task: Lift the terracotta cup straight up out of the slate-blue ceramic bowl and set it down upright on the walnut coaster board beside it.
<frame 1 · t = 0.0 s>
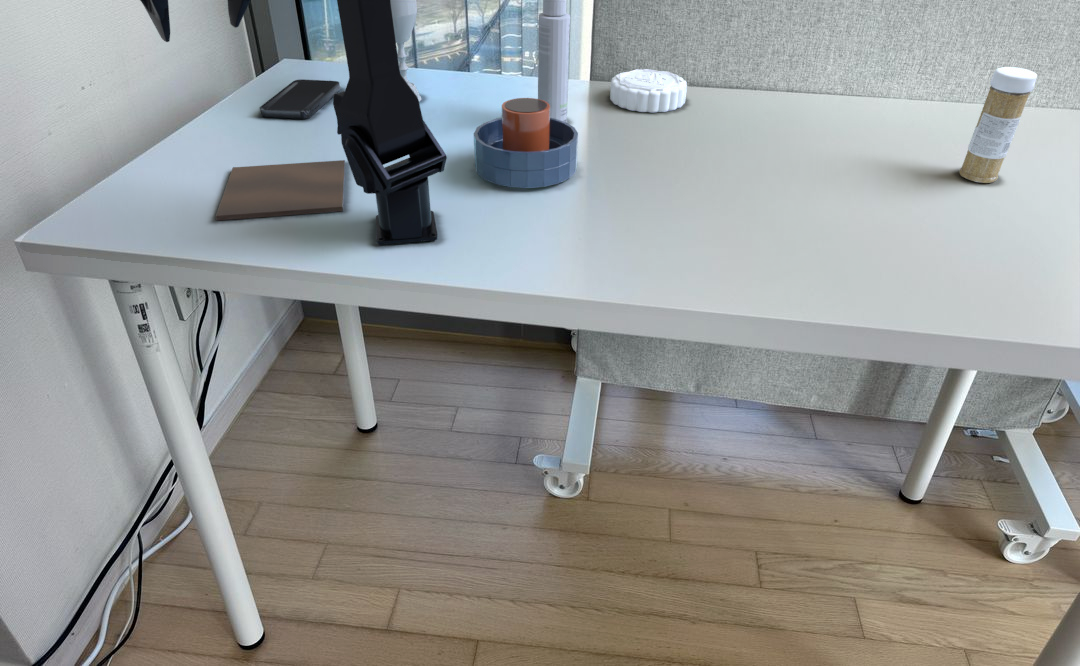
hand: (201, 33, 92), 15 cm above the table, tool pointing down, fingers open, 9 cm apart
mooncake: (647, 101, 120), on the table
bowl: (526, 170, 97), on the table
bottle: (552, 123, 112), on the table
sprinkles bottle: (976, 178, 97), on the table
chalice: (405, 100, 120), on the table
cup: (525, 136, 95), in the bowl
coaster board: (285, 190, 92), on the table
phone: (302, 102, 118), on the table
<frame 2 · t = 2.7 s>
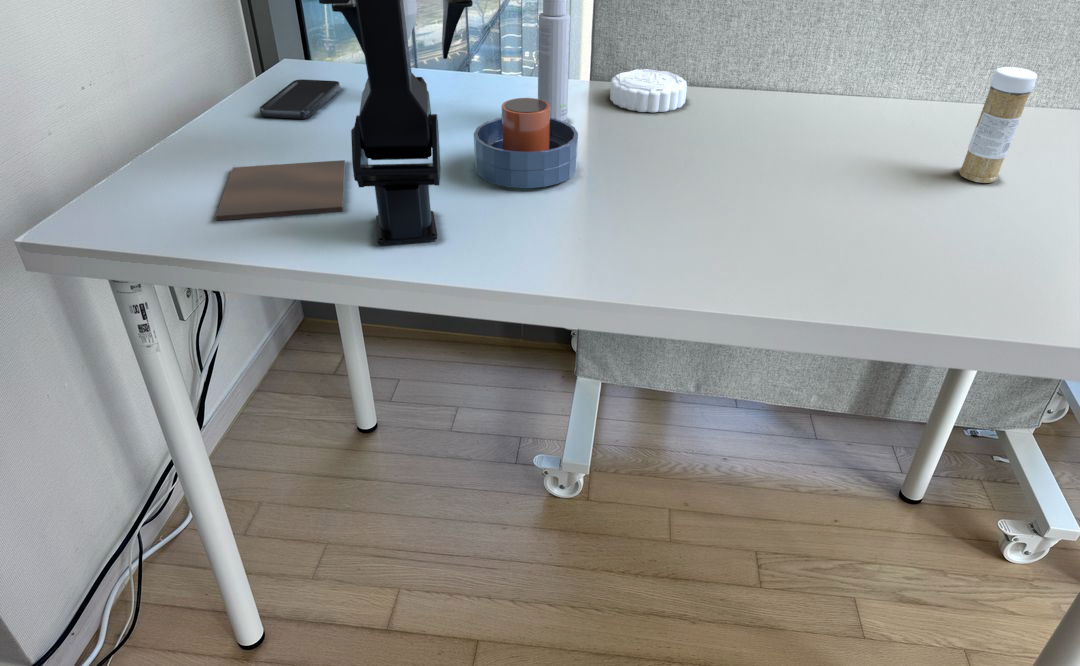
hand: (407, 60, 92), 13 cm above the table, tool pointing down, fingers open, 9 cm apart
nothing on the table moved.
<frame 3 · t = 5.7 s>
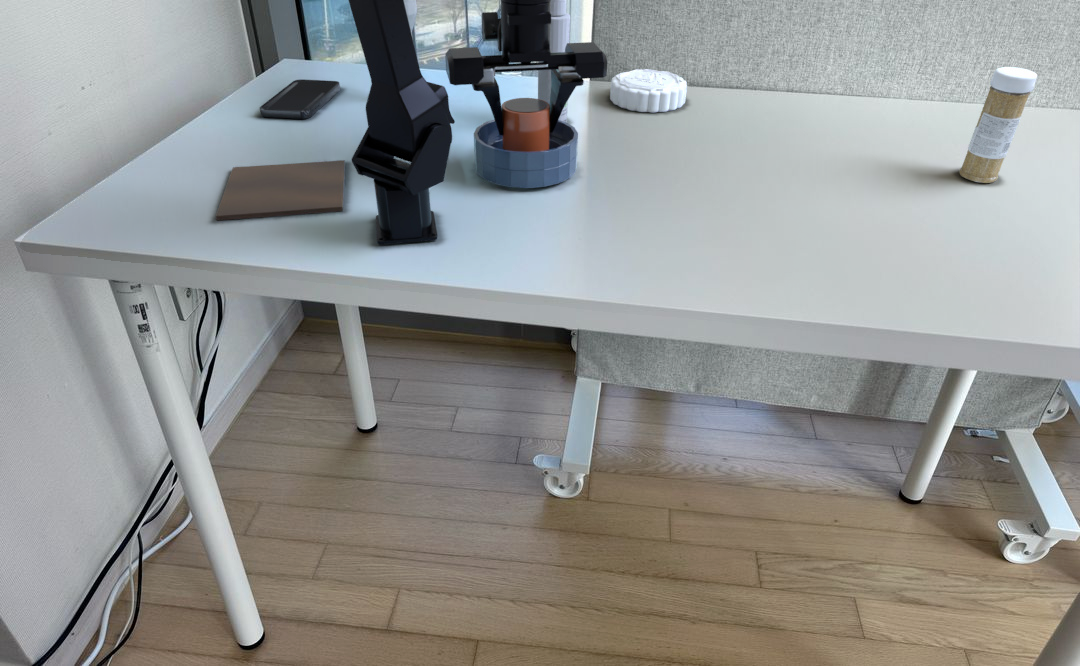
hand: (526, 132, 94), 5 cm above the table, tool pointing down, fingers closed on cup, 6 cm apart
cup: (525, 136, 95), in the bowl, touching gripper
everything else where it was.
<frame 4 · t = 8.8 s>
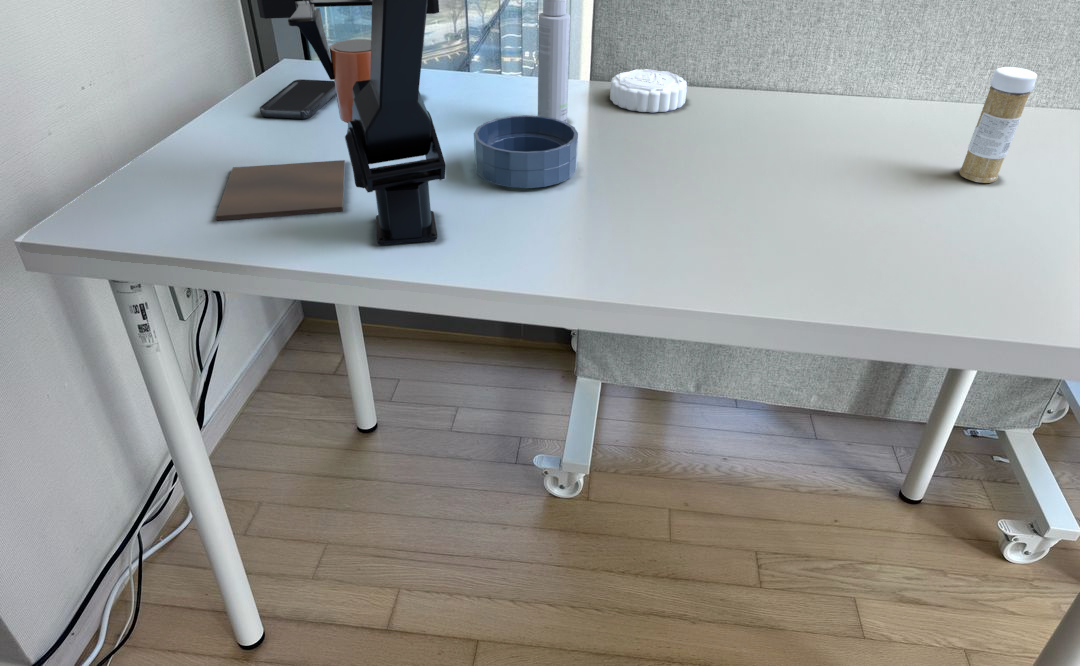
hand: (360, 77, 86), 13 cm above the table, tool pointing down, fingers closed on cup, 6 cm apart
cup: (361, 81, 86), point 12 cm above the table, touching gripper
everything else where it was.
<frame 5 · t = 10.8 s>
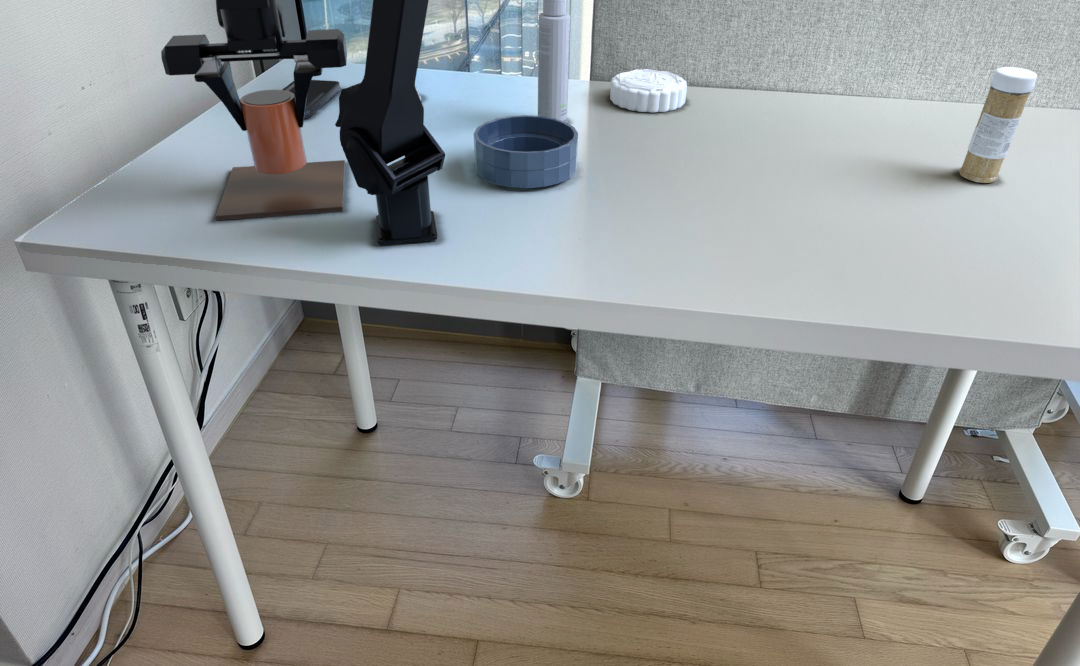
hand: (273, 128, 87), 8 cm above the table, tool pointing down, fingers closed on cup, 6 cm apart
cup: (274, 131, 87), point 7 cm above the table, touching gripper
everything else where it was.
when the fingers open (5 cm above the table, at t = 12.1 s): cup stays where it is, resting on coaster board.
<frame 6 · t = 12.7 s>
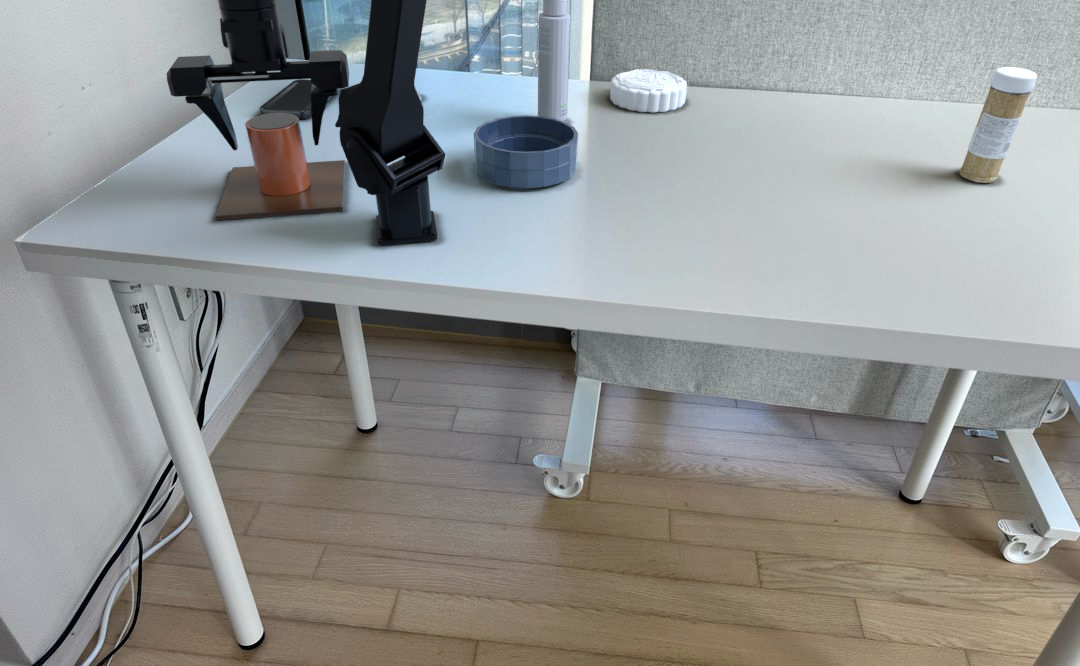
hand: (276, 146, 88), 6 cm above the table, tool pointing down, fingers open, 9 cm apart
cup: (278, 154, 89), on the coaster board, point 5 cm above the table
everything else where it was.
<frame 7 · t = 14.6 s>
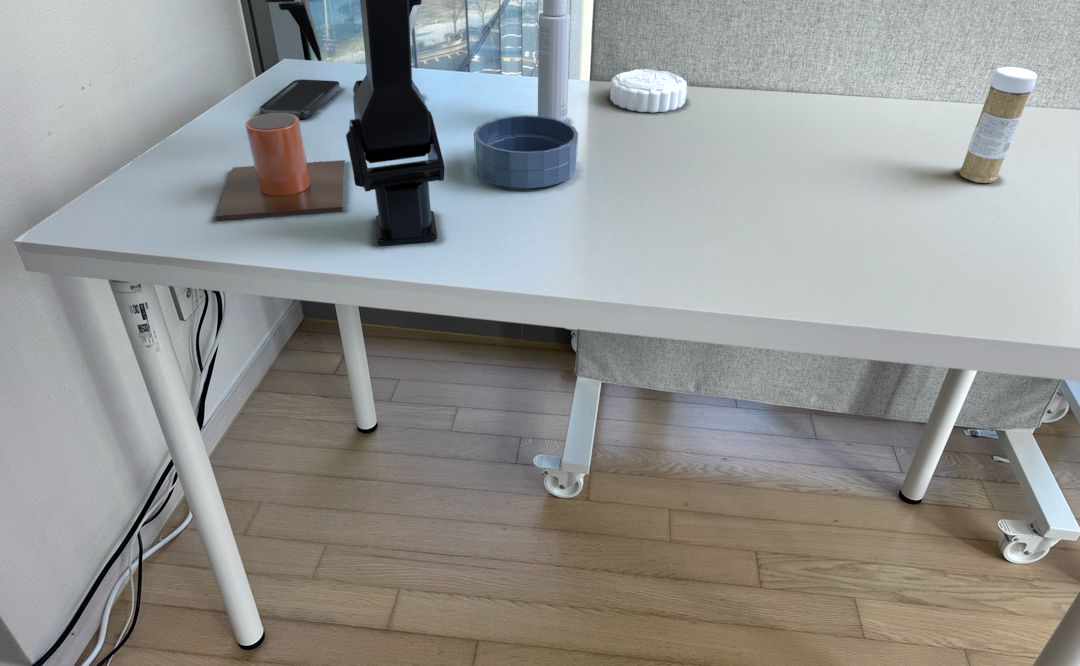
hand: (358, 58, 92), 13 cm above the table, tool pointing down, fingers open, 9 cm apart
nothing on the table moved.
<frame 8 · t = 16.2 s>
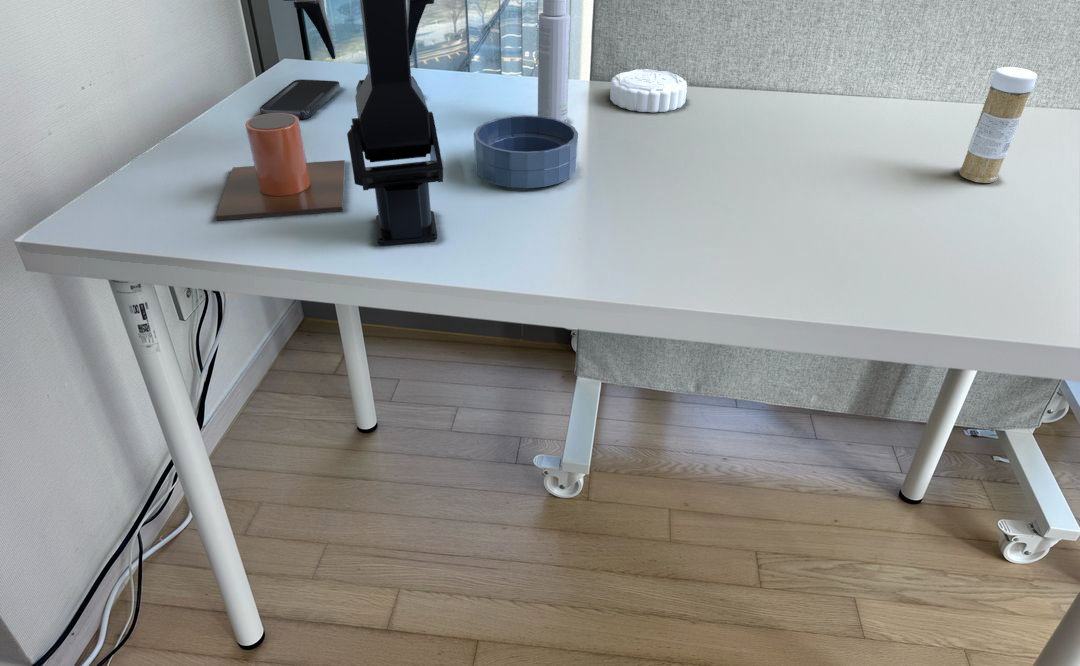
hand: (371, 56, 93), 13 cm above the table, tool pointing down, fingers open, 9 cm apart
nothing on the table moved.
at the end: cup inside the target area on the coaster board (0.1 cm from its centre), point 4.6 cm above the coaster board's base; cup tilted 0°; cup touching coaster board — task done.
